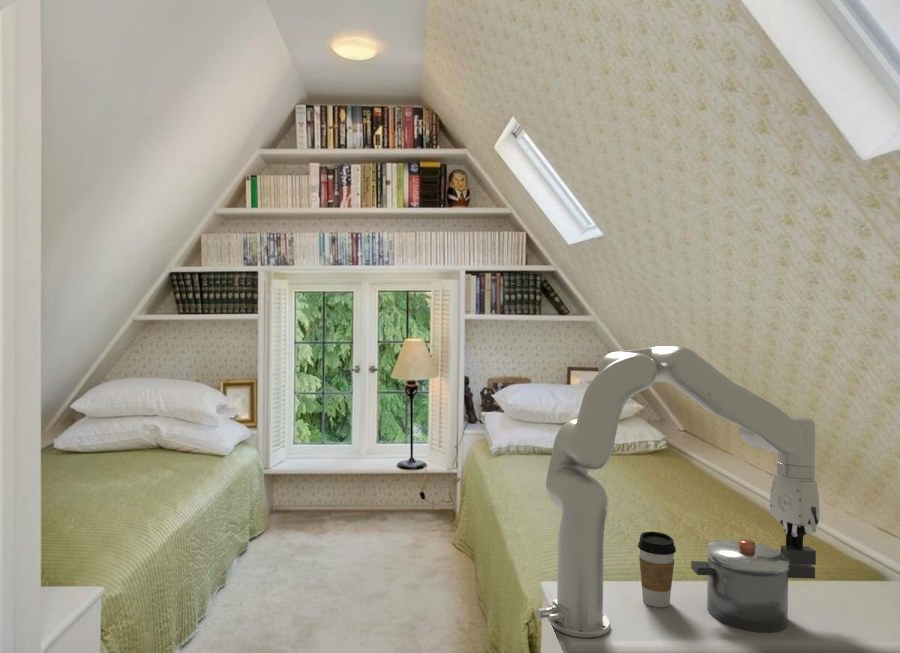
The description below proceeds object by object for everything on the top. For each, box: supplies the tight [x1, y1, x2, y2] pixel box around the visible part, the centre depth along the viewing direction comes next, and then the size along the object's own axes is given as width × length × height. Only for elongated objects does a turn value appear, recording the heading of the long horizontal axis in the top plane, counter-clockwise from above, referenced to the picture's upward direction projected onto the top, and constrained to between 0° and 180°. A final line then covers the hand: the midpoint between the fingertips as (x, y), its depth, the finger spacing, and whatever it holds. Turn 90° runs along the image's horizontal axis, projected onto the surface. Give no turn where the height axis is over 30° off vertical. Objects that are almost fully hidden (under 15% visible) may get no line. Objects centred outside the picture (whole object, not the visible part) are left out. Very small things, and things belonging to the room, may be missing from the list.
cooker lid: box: [705, 538, 817, 574], centre depth 133 cm, size 22×17×4 cm
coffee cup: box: [637, 531, 677, 608], centre depth 139 cm, size 8×8×15 cm
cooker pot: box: [690, 557, 816, 634], centre depth 133 cm, size 26×16×12 cm, turn 88°
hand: (794, 552), depth 136 cm, fingers closed
